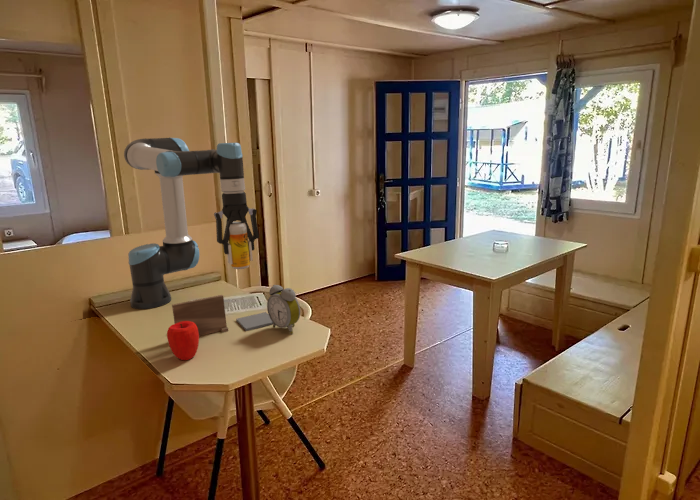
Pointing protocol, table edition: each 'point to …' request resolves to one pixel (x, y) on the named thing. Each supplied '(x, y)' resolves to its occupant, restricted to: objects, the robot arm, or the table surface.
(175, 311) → the screen
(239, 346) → the table surface
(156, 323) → the table surface
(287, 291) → the alarm clock
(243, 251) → the yellow pill bottle
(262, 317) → the coaster
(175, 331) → the apple
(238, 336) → the table surface
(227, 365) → the table surface
